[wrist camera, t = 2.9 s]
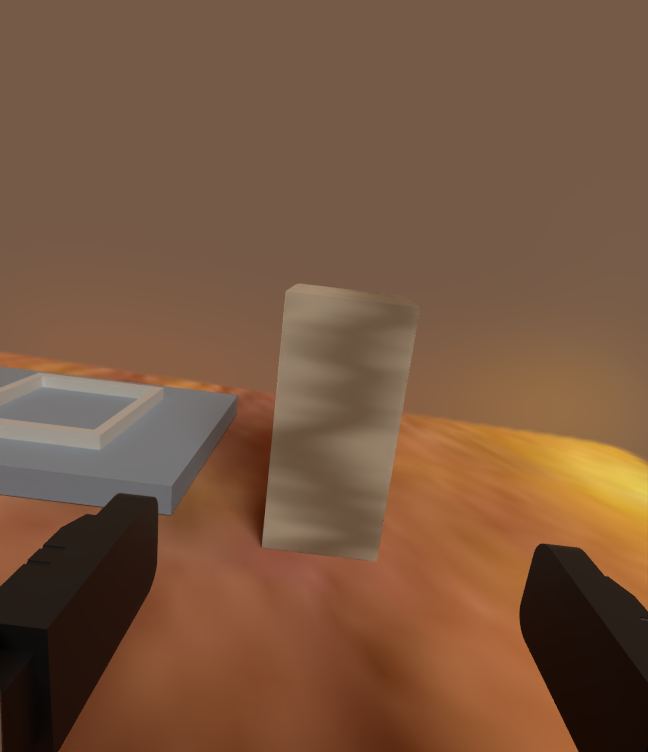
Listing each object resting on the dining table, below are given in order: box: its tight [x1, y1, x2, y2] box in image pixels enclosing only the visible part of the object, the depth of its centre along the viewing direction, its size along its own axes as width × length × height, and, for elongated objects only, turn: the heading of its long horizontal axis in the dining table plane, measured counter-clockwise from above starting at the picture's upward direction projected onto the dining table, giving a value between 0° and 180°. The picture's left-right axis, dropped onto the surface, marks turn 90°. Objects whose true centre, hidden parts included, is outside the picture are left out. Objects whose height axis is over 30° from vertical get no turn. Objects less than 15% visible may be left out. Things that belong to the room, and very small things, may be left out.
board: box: [0, 367, 238, 515], centre depth 28 cm, size 18×14×2 cm
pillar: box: [262, 284, 420, 562], centre depth 21 cm, size 5×5×11 cm
